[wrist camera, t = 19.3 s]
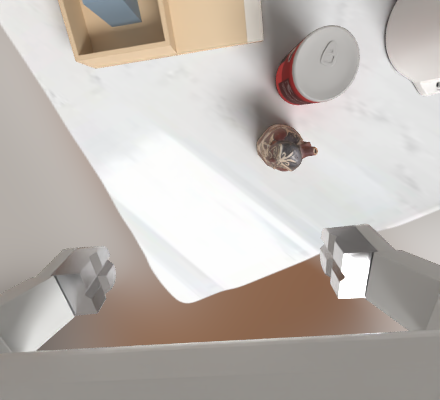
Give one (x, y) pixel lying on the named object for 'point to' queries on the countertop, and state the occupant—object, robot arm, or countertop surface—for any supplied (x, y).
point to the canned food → (319, 67)
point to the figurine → (283, 147)
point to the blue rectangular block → (115, 11)
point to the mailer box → (161, 30)
